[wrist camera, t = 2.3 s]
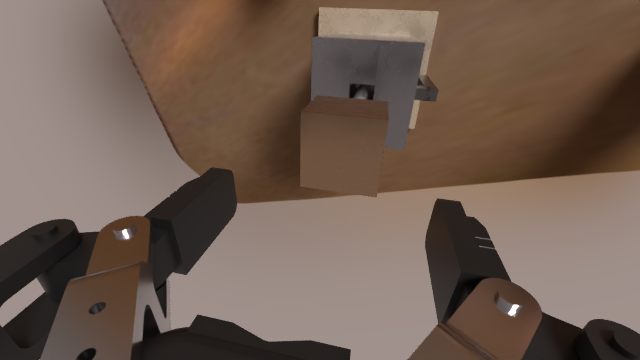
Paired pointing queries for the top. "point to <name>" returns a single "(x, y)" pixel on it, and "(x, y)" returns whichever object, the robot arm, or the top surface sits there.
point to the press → (376, 60)
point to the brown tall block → (343, 142)
